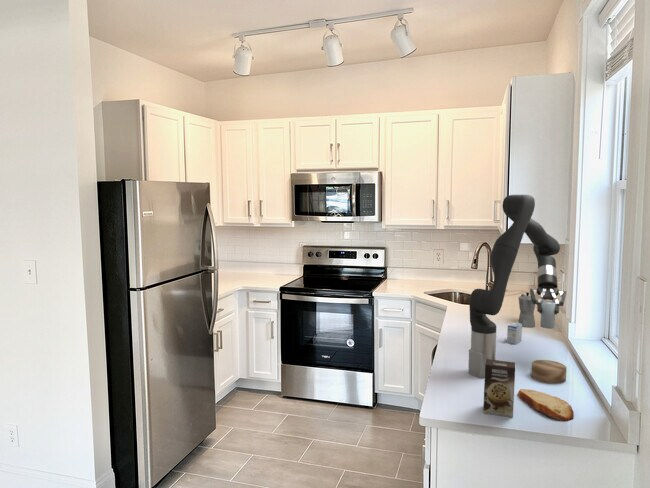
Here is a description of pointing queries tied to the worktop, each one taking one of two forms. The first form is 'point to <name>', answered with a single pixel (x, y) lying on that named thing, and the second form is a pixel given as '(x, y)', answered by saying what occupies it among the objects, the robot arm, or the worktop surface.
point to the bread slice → (547, 404)
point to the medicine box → (514, 333)
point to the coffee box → (499, 387)
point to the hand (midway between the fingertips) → (548, 312)
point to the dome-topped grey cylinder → (547, 314)
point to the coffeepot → (526, 311)
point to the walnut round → (548, 371)
